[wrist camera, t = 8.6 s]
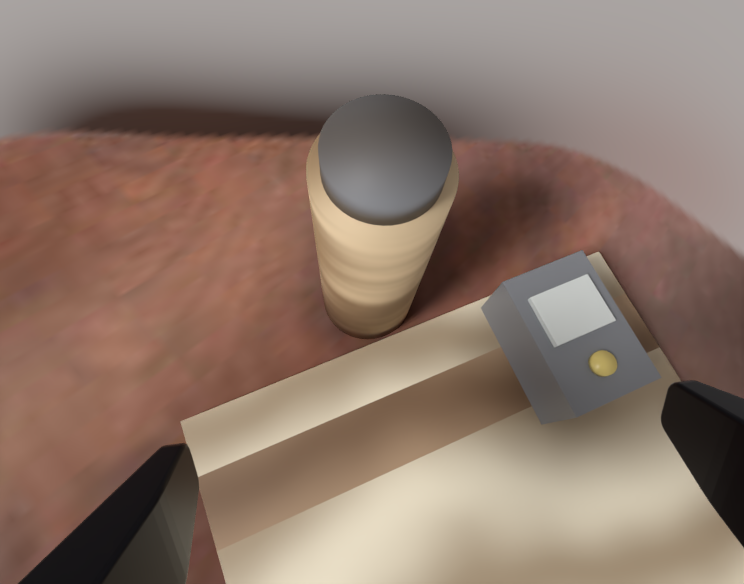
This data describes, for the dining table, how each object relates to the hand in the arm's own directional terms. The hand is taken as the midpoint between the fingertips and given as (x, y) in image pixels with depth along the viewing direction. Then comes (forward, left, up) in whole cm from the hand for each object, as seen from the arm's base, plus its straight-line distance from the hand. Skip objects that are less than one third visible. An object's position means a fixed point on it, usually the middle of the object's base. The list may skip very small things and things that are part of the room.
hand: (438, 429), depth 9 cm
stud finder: (+1, -9, -13) cm, 16 cm away
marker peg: (+7, -2, -13) cm, 15 cm away
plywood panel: (-5, -3, -13) cm, 15 cm away
